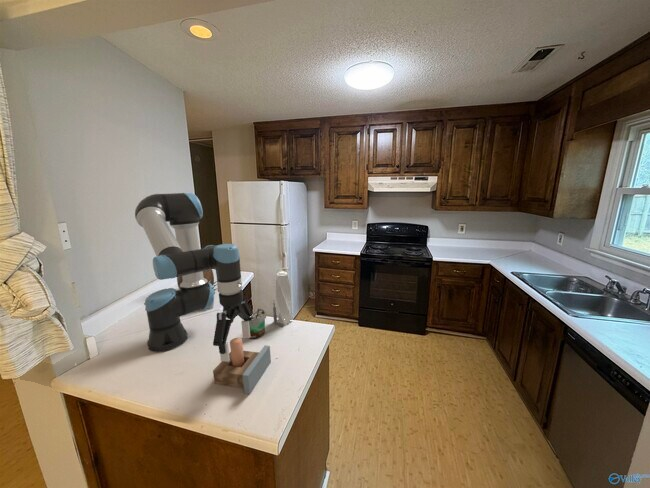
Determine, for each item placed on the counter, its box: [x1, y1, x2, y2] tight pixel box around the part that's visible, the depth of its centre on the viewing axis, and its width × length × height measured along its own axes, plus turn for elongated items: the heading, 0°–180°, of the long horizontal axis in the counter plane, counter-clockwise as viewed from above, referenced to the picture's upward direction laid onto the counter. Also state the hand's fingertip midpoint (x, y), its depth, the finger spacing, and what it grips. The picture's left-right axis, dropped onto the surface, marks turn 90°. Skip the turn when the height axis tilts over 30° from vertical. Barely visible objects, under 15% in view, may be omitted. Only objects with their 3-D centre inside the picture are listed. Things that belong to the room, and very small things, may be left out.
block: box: [212, 350, 260, 389], centre depth 92 cm, size 12×12×5 cm
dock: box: [242, 345, 272, 395], centre depth 92 cm, size 23×16×8 cm
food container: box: [248, 307, 267, 340], centre depth 118 cm, size 12×6×10 cm, turn 168°
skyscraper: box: [272, 266, 293, 327], centre depth 127 cm, size 8×8×28 cm
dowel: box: [229, 337, 245, 367], centre depth 91 cm, size 4×4×12 cm
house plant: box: [203, 280, 218, 311], centre depth 147 cm, size 14×14×16 cm
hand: (236, 348), depth 90 cm, fingers open, 13 cm apart
